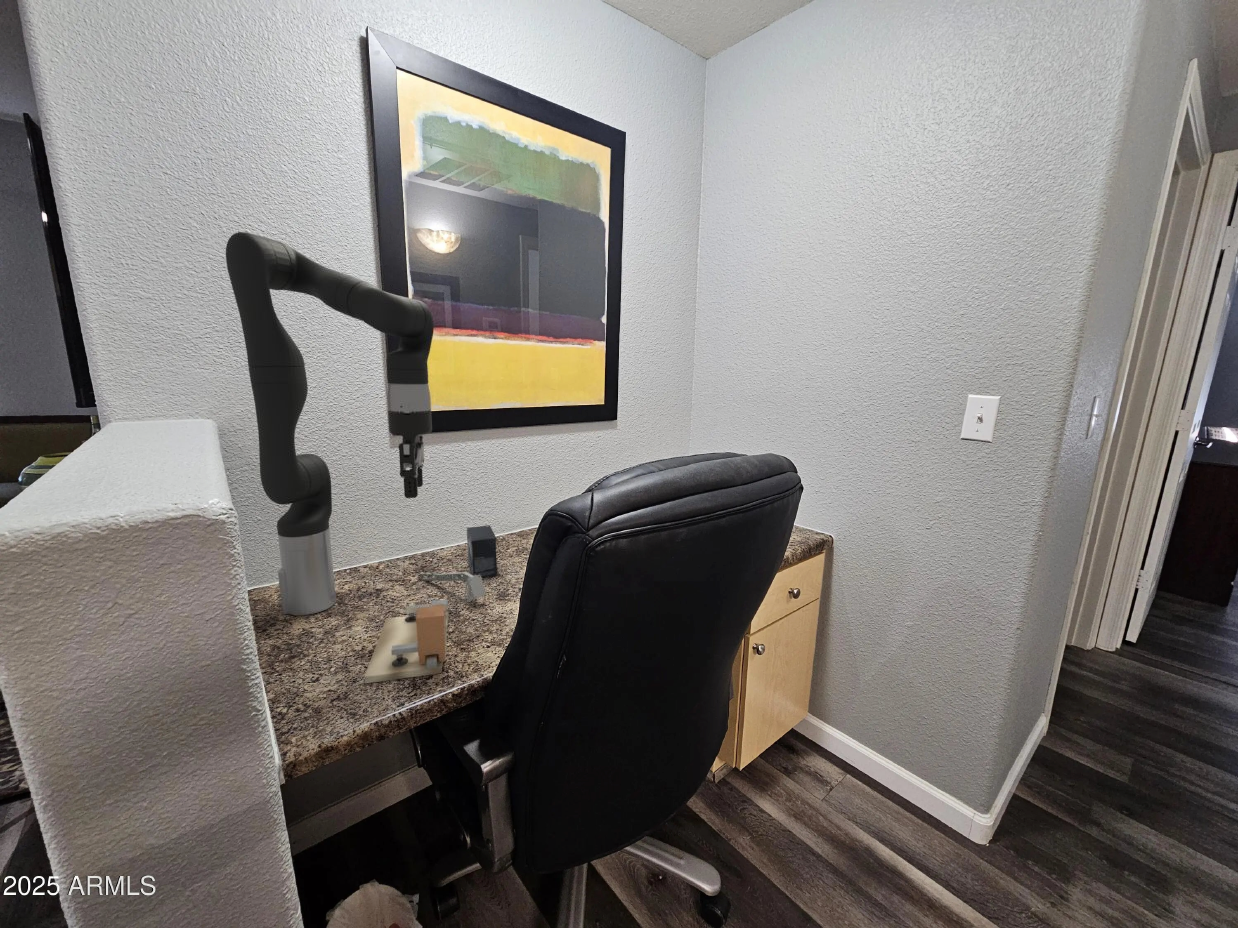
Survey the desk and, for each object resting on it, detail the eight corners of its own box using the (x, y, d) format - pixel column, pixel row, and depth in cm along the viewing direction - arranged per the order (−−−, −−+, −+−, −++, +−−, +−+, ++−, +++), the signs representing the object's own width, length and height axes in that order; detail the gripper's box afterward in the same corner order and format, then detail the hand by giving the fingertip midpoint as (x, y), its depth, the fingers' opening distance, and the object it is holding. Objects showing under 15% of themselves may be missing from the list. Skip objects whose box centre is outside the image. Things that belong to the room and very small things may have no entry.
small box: (467, 564, 131) (465, 526, 129) (491, 560, 133) (490, 524, 131) (471, 579, 121) (470, 539, 119) (498, 575, 124) (497, 536, 122)
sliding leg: (390, 668, 82) (387, 621, 81) (394, 655, 86) (391, 610, 85) (445, 660, 85) (443, 615, 83) (447, 648, 89) (445, 604, 87)
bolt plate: (364, 683, 81) (364, 676, 80) (386, 623, 100) (386, 617, 99) (441, 672, 84) (441, 666, 84) (448, 616, 103) (448, 611, 103)
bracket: (475, 600, 106) (461, 556, 107) (427, 613, 119) (414, 574, 120) (487, 594, 109) (473, 552, 110) (438, 608, 122) (426, 570, 123)
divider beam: (391, 673, 82) (390, 657, 81) (407, 615, 100) (407, 602, 100) (441, 666, 84) (440, 650, 83) (448, 611, 103) (447, 598, 102)
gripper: (394, 405, 97) (399, 484, 100) (380, 411, 84) (386, 502, 87) (434, 405, 99) (437, 483, 102) (427, 411, 86) (431, 500, 89)
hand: (414, 491), depth 94 cm, fingers open, 8 cm apart
